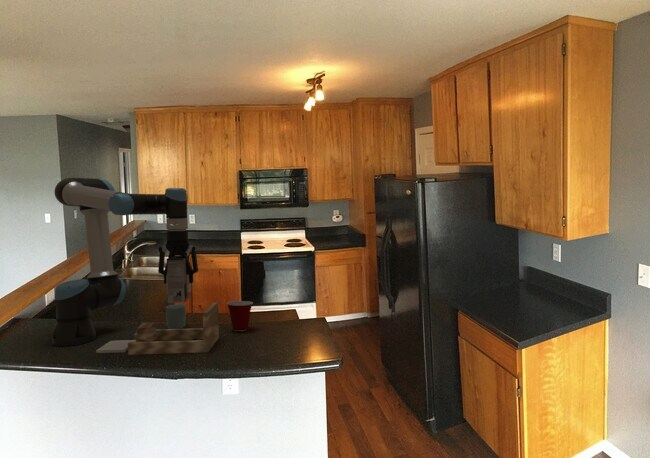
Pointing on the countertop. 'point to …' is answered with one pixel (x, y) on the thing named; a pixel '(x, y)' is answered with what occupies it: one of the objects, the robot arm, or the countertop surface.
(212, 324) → the rack
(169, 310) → the cup
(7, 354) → the countertop surface
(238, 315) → the plastic cup
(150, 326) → the offcut stack
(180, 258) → the coffee box
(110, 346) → the mat
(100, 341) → the countertop surface
